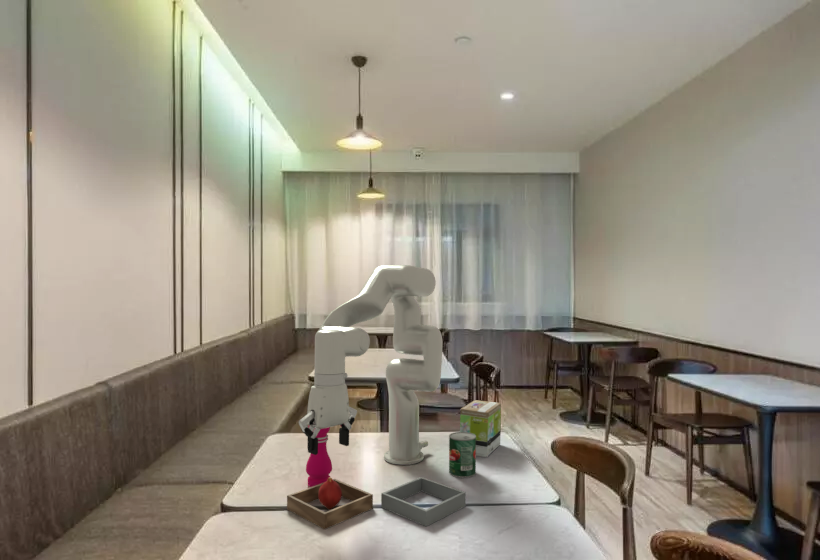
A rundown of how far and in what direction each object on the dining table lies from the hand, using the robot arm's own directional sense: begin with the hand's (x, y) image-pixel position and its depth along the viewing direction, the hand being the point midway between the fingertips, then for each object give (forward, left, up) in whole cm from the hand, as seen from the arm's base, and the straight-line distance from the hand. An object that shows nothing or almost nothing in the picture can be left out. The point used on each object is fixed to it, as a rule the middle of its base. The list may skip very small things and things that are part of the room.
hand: (328, 449), depth 133 cm
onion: (-1, 0, -15) cm, 15 cm away
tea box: (-64, 0, -15) cm, 66 cm away
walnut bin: (-1, 0, -15) cm, 15 cm away
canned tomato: (-43, +9, -15) cm, 46 cm away
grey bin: (-18, +16, -15) cm, 28 cm away
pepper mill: (-9, -15, -15) cm, 23 cm away
